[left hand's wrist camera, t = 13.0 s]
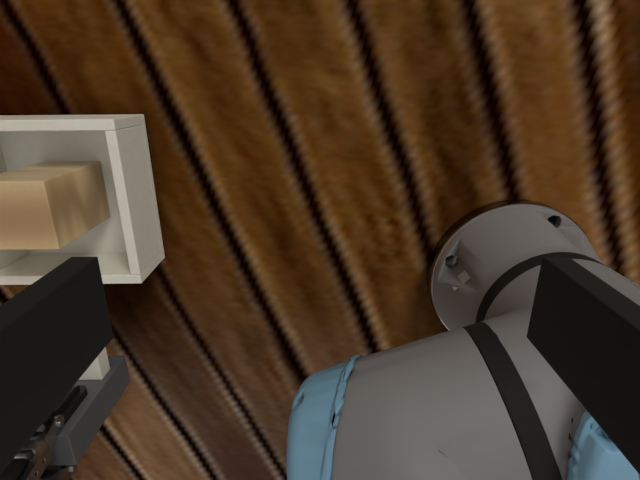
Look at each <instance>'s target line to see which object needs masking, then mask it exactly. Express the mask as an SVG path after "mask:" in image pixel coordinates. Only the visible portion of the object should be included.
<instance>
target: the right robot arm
mask: <svg viewBox="0 0 640 480" xmlns="http://www.w3.org/2000/svg"><path fill="white" fill-rule="evenodd" d="M87 395H88V392H87V388H86V386H84V385H74V386H73V387H72V388H71V389H70V391H69V392H68V393H67V394H66V395H65V397H64V398H63V399H62V400H61V401H60V403H59V404H58V405H57V406H56V408H55V409H54V410H53V411H52V412H51V414H50V415H49V416H48V417H47V419H46V420H45V421H44V422H43V423H42V425H41V426H40V427H39V428H38V430H37V431H36V432H42V433H41V435H40V437H39V438H37V439H36V440H30V439H29V440H28V442H27V443H26V444H25V445H24V447H23V448H22V449H21V450H20V451H19V453H18V454H17V455H16V456H15V458H14V459H13V460H12V461H11V462H10V464H9V465H8V466H7V467H6V468H5V470H4V471H3V472H2V473H1V475H0V480H71V477H72V475H73V474H74V473H75V470H76V466H77V465H65V466H47V465H48V463H49V462H50V460H51V458H52V456H53V454H54V452H53V450H52V448H51V446H52V445H53V443H54V441H55V440H56V438H57V436H58V435H59V433H60V431H61V429H62V428H63V426H64V424H66V423H67V421H68V420H69V419H70V417H71V416H72V415H73V413H74V412H75V411H76V409H77V408H78V407H79V405H80V404H81V403H82V401H83V400H84V399H85V397H86V396H87ZM30 460H31V461H30Z"/></svg>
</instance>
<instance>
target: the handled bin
mask: <svg viewBox="0 0 640 480" xmlns="http://www.w3.org/2000/svg"><path fill="white" fill-rule="evenodd" d="M78 161H100V162H101V167H102V173H103V178H104V183H105V189H106V194H107V200H108V205H109V210H110V216H111V217H110V218H108V219H107V220H105V221H103V222H102V223H100V224H99V225H97V226H96V227H94V228H92V229H91V230H89V231H88V232H86V233H84V234H83V235H81V236H80V237H78V238H76V239H75V240H73V241H72V242H70V243H69V244H67V245H65V246H64V247H62V248H61V249H37V250H0V285H31V284H33V283H34V282H36V281H37V280H39V279H40V278H41V277H43V276H44V275H46V274H47V273H49V272H50V271H52V270H53V269H55V268H56V267H57V266H59V265H60V264H62V263H63V262H65V261H66V260H68V259H69V258H70V257H98V262H99V267H100V272H101V277H102V282H103V284H133V283H142V282H143V281H144V280H145V279H146V278H147V277H148V276H149V274H150V273H151V272H152V271H153V270H154V269H155V268H156V267H157V266H158V264H159V263H160V262H161V261H162V260H163V259H164V258H165V255H164V248H163V241H162V234H161V228H160V221H159V214H158V207H157V201H156V194H155V187H154V180H153V173H152V167H151V160H150V153H149V146H148V139H147V133H146V126H145V119H144V114H115V115H5V116H0V173H3V172H7V171H11V170H14V169H18V168H22V167H25V166H29V165H33V164H36V163H40V162H78ZM129 382H130V379H129V374H128V369H127V364H126V359H125V356H107V351H106V347H105V348H104V349H103V350H102V352H101V353H100V354H99V355H98V356H97V358H96V359H95V360H94V361H93V363H92V364H91V365H90V366H89V367H88V369H87V370H86V371H85V372H84V373H83V375H82V376H81V377H80V378H79V380H78V381H77V382H76V383H75V384H74V385H84V386H86V388H87V392H88V395H87V396H86V397H85V399H84V400H83V401H82V403H81V404H80V405H79V407H78V408H77V409H76V411H75V412H74V413H73V415H72V416H71V417H70V419H69V420H68V421H67V423H66V424H64V426H63V428H62V429H61V431H60V433H59V435H58V436H57V438H56V440H55V441H54V443H53V445H52V446H51V448H52V450H53V452H54V454H53V456H52V458H51V460H50V462H49V463H48V465H47V466H65V465H77V463H78V462H79V460H80V458H81V457H82V455H83V454H84V452H85V451H86V449H87V447H88V446H89V444H90V443H91V441H92V440H93V438H94V436H95V435H96V433H97V432H98V430H99V429H100V427H101V426H102V424H103V422H104V421H105V419H106V418H107V416H108V415H109V413H110V411H111V410H112V408H113V407H114V405H115V404H116V402H117V400H118V399H119V397H120V396H121V394H122V393H123V391H124V389H125V388H126V386H127V385H128V383H129ZM41 433H42V432H35V433H34V434H33V436H32V437H31V438H30V440H36V439H37V438H39V437H40V435H41ZM30 461H31V460H30Z"/></svg>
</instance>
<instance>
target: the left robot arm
mask: <svg viewBox="0 0 640 480" xmlns="http://www.w3.org/2000/svg"><path fill="white" fill-rule="evenodd" d="M427 285H428V292H429V296H430V299H431V302H432V304H433V307H434V309H435V311H436V313H437V315H438V316H439V318H440V320H441V321H442V323H443V324H444V325H445V327H446V328H447V329H448V330H449V331H446V332H443V333H440V334H436V335H433V336H430V337H426V338H423V339H420V340H416V341H413V342H410V343H407V344H403V345H400V346H397V347H393V348H390V349H387V350H383V351H380V352H377V353H374V354H370V355H367V356H364V357H362V356H361V355H359V354H358V355H354V356H352V357H351V358H350V359H349V360H348V361H346V362H343V363H340V364H337V365H334V366H332V367H329V368H326V369H323V370H320V371H318V372H315V373H313V374H312V375H310V376H309V377H308V378H307V379H305V381H304V382H303V383H302V384H301V386H300V387H299V389H298V391H297V393H296V395H295V398H294V401H293V405H292V409H291V414H290V418H289V425H288V435H287V480H640V286H638V285H637V284H635V283H633V282H632V281H630V280H628V279H627V278H625V277H623V276H622V275H620V274H619V273H617V272H615V271H614V270H612V269H610V268H608V267H607V266H605V265H603V264H602V262H601V261H600V259H599V257H598V256H597V254H596V252H595V250H594V249H593V247H592V245H591V244H590V242H589V240H588V238H587V236H586V235H585V233H584V232H583V230H582V229H581V228H580V227H579V226H578V225H577V224H576V223H575V222H574V221H573V220H572V219H570V218H569V217H568V216H566V215H564V214H563V213H561V212H559V211H557V210H555V209H553V208H551V207H549V206H547V205H544V204H541V203H538V202H534V201H529V200H505V201H499V202H495V203H491V204H488V205H485V206H483V207H480V208H478V209H476V210H474V211H472V212H471V213H469V214H467V215H466V216H464V217H463V218H461V219H460V220H459V221H458V222H456V223H455V224H454V225H453V226H452V227H451V228H450V229H449V230H448V231H447V232H446V233H445V235H444V236H443V237H442V239H441V240H440V242H439V243H438V245H437V247H436V248H435V250H434V253H433V255H432V258H431V260H430V264H429V268H428V276H427ZM112 338H113V332H112V327H111V322H110V317H109V312H108V307H107V302H106V297H105V292H104V287H103V282H102V277H101V272H100V267H99V262H98V257H70V258H69V259H68V260H66V261H65V262H63V263H62V264H60V265H59V266H57V267H56V268H55V269H53V270H52V271H50V272H49V273H47V274H46V275H44V276H43V277H41V278H40V279H39V280H37V281H36V282H34V283H33V284H31V285H30V286H28V287H27V288H26V289H24V290H23V291H21V292H20V293H18V294H17V295H15V296H14V297H12V298H11V299H10V300H8V301H7V302H5V303H4V304H2V305H1V306H0V475H1V473H2V472H3V471H4V470H5V468H6V467H7V466H8V465H9V464H10V462H11V461H12V460H13V459H14V458H15V456H16V455H17V454H18V453H19V451H20V450H21V449H22V448H23V447H24V445H25V444H26V443H27V442H28V440H29V439H30V438H31V437H32V436H33V434H34V433H35V432H36V431H37V430H38V428H39V427H40V426H41V425H42V423H43V422H44V421H45V420H46V419H47V417H48V416H49V415H50V414H51V412H52V411H53V410H54V409H55V408H56V406H57V405H58V404H59V403H60V401H61V400H62V399H63V398H64V397H65V395H66V394H67V393H68V392H69V391H70V389H71V388H72V387H73V386H74V384H75V383H76V382H77V381H78V380H79V378H80V377H81V376H82V375H83V373H84V372H85V371H86V370H87V369H88V367H89V366H90V365H91V364H92V363H93V361H94V360H95V359H96V358H97V356H98V355H99V354H100V353H101V352H102V350H103V349H104V348H105V347H106V345H107V344H108V343H109V342H110V341H111V339H112Z"/></svg>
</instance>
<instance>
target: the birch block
mask: <svg viewBox="0 0 640 480" xmlns="http://www.w3.org/2000/svg"><path fill="white" fill-rule="evenodd" d="M110 217H111V216H110V210H109V205H108V200H107V194H106V189H105V183H104V178H103V173H102V167H101V162H100V161H78V162H40V163H36V164H33V165H29V166H25V167H22V168H18V169H14V170H11V171H7V172H3V173H0V250H37V249H61V248H62V247H64V246H65V245H67V244H69V243H70V242H72V241H73V240H75V239H76V238H78V237H80V236H81V235H83V234H84V233H86V232H88V231H89V230H91V229H92V228H94V227H96V226H97V225H99V224H100V223H102V222H103V221H105V220H107V219H108V218H110Z"/></svg>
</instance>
